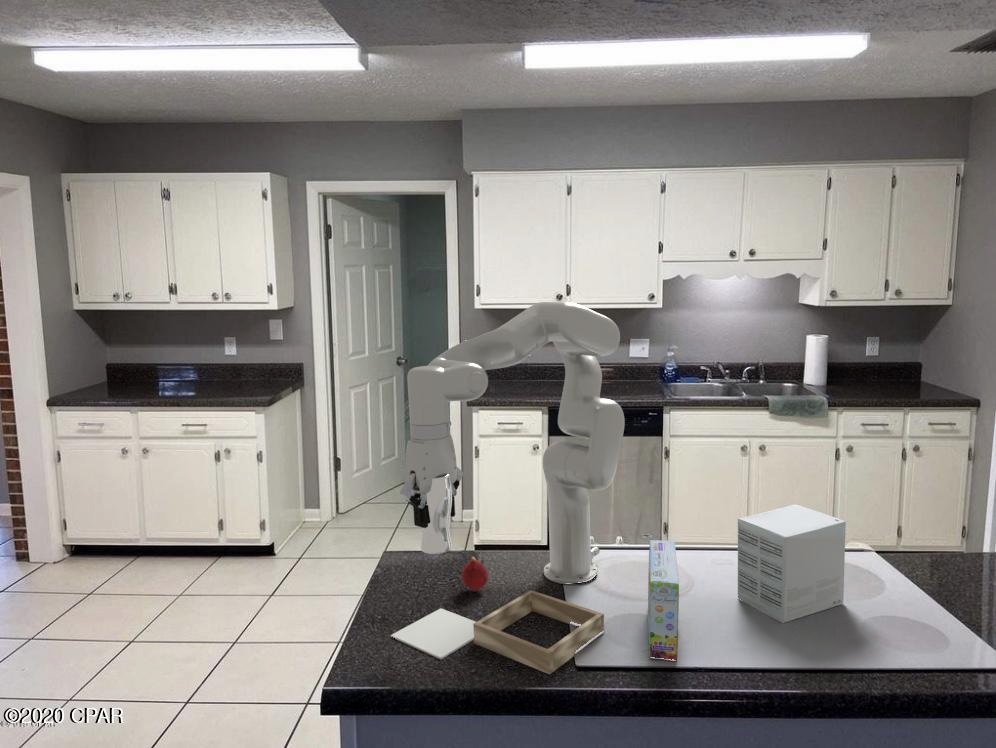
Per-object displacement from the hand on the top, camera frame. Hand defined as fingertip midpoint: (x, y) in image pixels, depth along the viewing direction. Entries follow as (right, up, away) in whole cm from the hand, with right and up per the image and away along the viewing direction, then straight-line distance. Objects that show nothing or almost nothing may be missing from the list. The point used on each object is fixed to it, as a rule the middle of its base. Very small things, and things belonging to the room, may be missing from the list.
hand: (435, 520), depth 139 cm
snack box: (+44, -22, 0) cm, 50 cm away
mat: (+1, -23, +3) cm, 23 cm away
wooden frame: (+20, -23, 0) cm, 31 cm away
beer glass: (0, -6, +1) cm, 6 cm away
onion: (+7, -21, +21) cm, 31 cm away
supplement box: (+73, -20, +11) cm, 77 cm away
